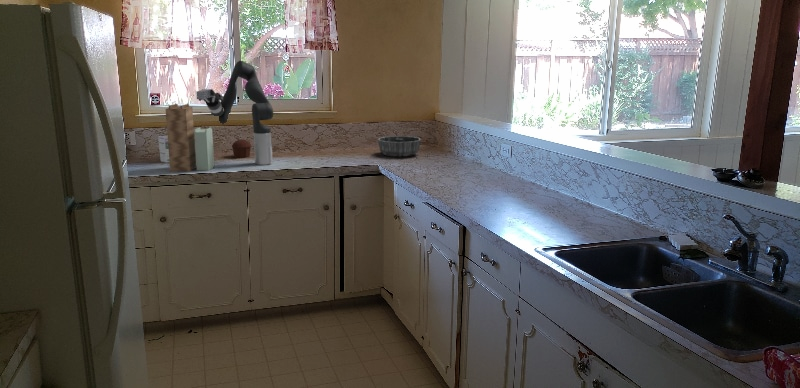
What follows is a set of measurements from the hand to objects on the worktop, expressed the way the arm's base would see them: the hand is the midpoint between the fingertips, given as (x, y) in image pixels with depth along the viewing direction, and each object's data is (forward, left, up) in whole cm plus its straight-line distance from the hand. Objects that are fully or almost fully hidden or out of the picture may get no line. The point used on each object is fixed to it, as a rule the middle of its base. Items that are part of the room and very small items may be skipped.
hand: (206, 90), depth 331 cm
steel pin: (0, +5, -3) cm, 6 cm away
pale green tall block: (-2, +20, -39) cm, 44 cm away
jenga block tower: (+9, +22, -39) cm, 46 cm away
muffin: (-14, -16, -39) cm, 45 cm away
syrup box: (+24, 0, -39) cm, 46 cm away
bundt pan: (-107, -24, -39) cm, 117 cm away
